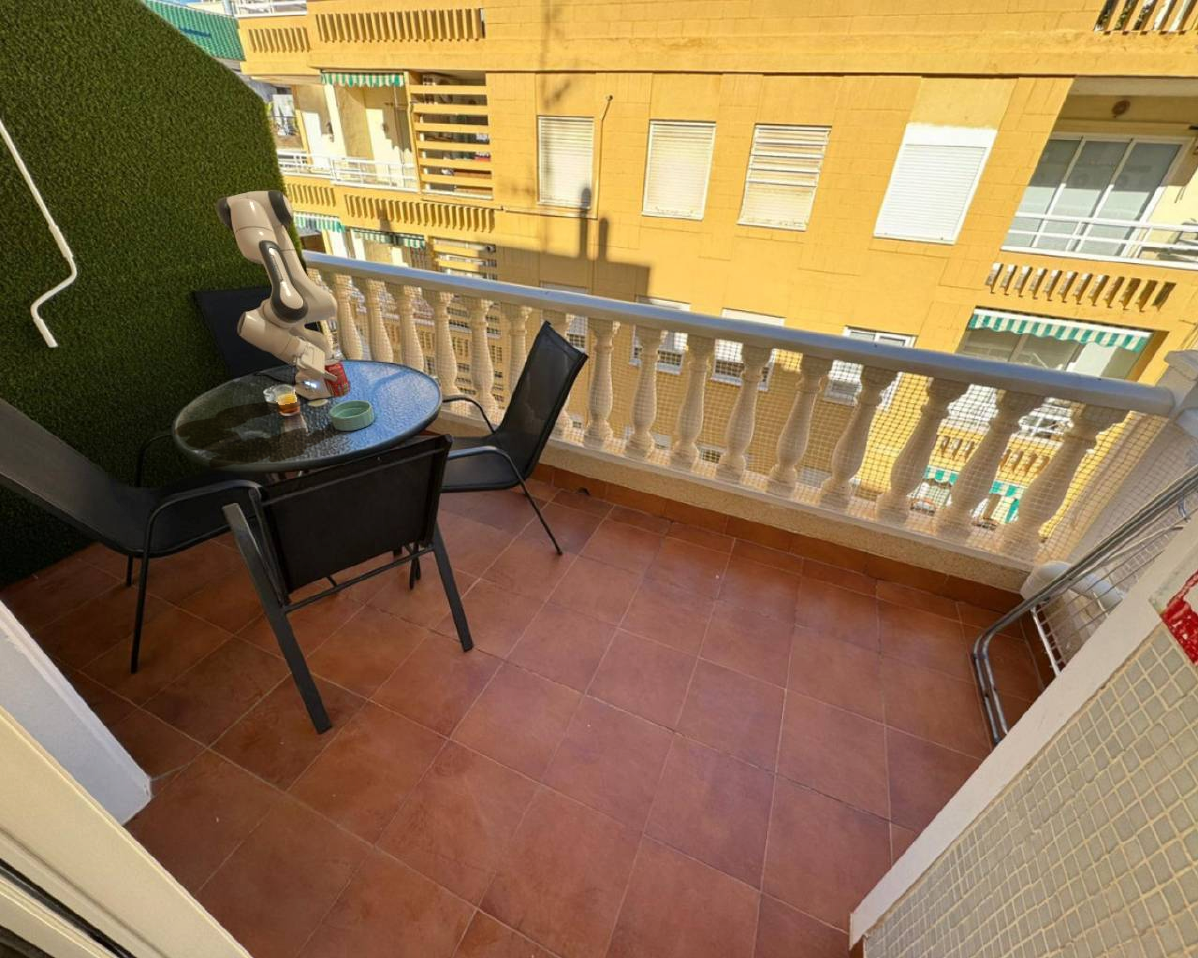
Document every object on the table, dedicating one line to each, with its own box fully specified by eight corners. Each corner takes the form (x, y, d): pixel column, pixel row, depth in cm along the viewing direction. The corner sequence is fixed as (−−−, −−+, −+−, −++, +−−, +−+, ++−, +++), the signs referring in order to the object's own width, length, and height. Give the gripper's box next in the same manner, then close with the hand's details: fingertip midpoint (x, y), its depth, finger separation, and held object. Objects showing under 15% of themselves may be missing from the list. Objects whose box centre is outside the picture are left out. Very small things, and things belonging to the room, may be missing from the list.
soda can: (333, 389, 178) (322, 357, 171) (354, 389, 178) (344, 357, 171) (326, 398, 172) (315, 366, 165) (347, 398, 172) (336, 365, 165)
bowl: (325, 426, 181) (320, 413, 178) (355, 410, 192) (351, 397, 189) (353, 435, 176) (348, 421, 173) (383, 417, 187) (379, 404, 184)
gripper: (297, 355, 154) (341, 379, 163) (300, 333, 169) (340, 356, 178) (287, 370, 155) (331, 393, 164) (290, 348, 170) (331, 370, 179)
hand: (336, 374), depth 171 cm, fingers closed on soda can, 7 cm apart
